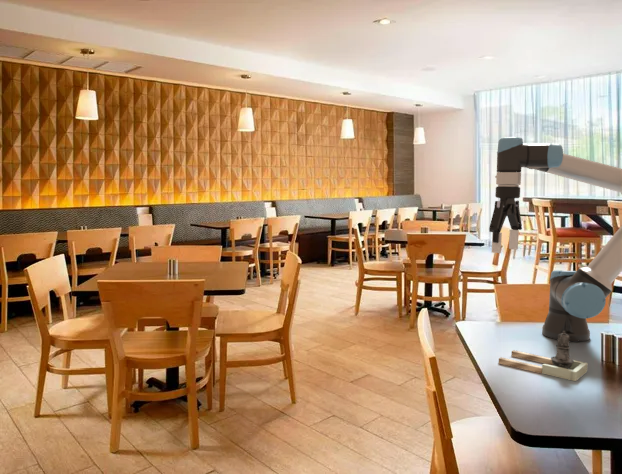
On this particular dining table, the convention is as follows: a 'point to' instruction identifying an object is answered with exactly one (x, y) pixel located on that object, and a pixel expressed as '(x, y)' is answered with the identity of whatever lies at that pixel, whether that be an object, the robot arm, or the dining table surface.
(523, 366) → the channel
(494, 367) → the dining table surface
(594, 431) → the dining table surface
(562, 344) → the dark stone chess piece
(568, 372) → the socket
